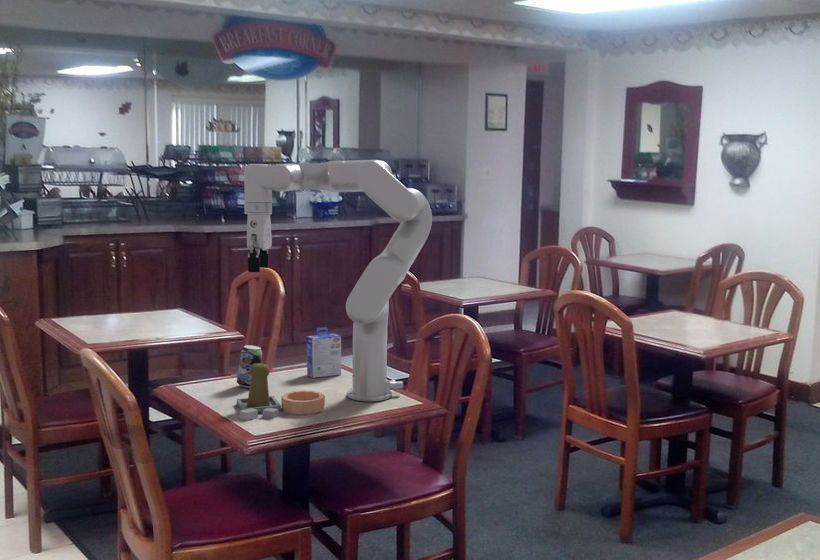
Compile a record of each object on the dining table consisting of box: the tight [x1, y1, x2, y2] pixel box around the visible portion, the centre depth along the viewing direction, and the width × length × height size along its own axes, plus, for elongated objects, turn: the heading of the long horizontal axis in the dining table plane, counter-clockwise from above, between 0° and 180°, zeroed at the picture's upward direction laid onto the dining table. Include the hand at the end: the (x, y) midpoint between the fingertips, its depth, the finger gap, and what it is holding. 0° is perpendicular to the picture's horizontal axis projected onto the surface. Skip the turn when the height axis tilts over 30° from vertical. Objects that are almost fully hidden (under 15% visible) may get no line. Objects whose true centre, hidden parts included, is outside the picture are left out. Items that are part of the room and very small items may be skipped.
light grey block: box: [239, 408, 259, 421], centre depth 221 cm, size 4×3×2 cm
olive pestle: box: [247, 362, 271, 407], centre depth 229 cm, size 6×6×11 cm
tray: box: [236, 395, 282, 414], centre depth 230 cm, size 10×10×2 cm
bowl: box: [280, 389, 326, 416], centre depth 229 cm, size 11×11×4 cm
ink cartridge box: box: [305, 326, 342, 379], centre depth 265 cm, size 10×6×14 cm, turn 119°
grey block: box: [262, 408, 280, 419], centre depth 223 cm, size 3×3×2 cm
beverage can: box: [236, 344, 263, 389], centre depth 250 cm, size 6×7×12 cm
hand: (258, 269), depth 243 cm, fingers open, 9 cm apart
